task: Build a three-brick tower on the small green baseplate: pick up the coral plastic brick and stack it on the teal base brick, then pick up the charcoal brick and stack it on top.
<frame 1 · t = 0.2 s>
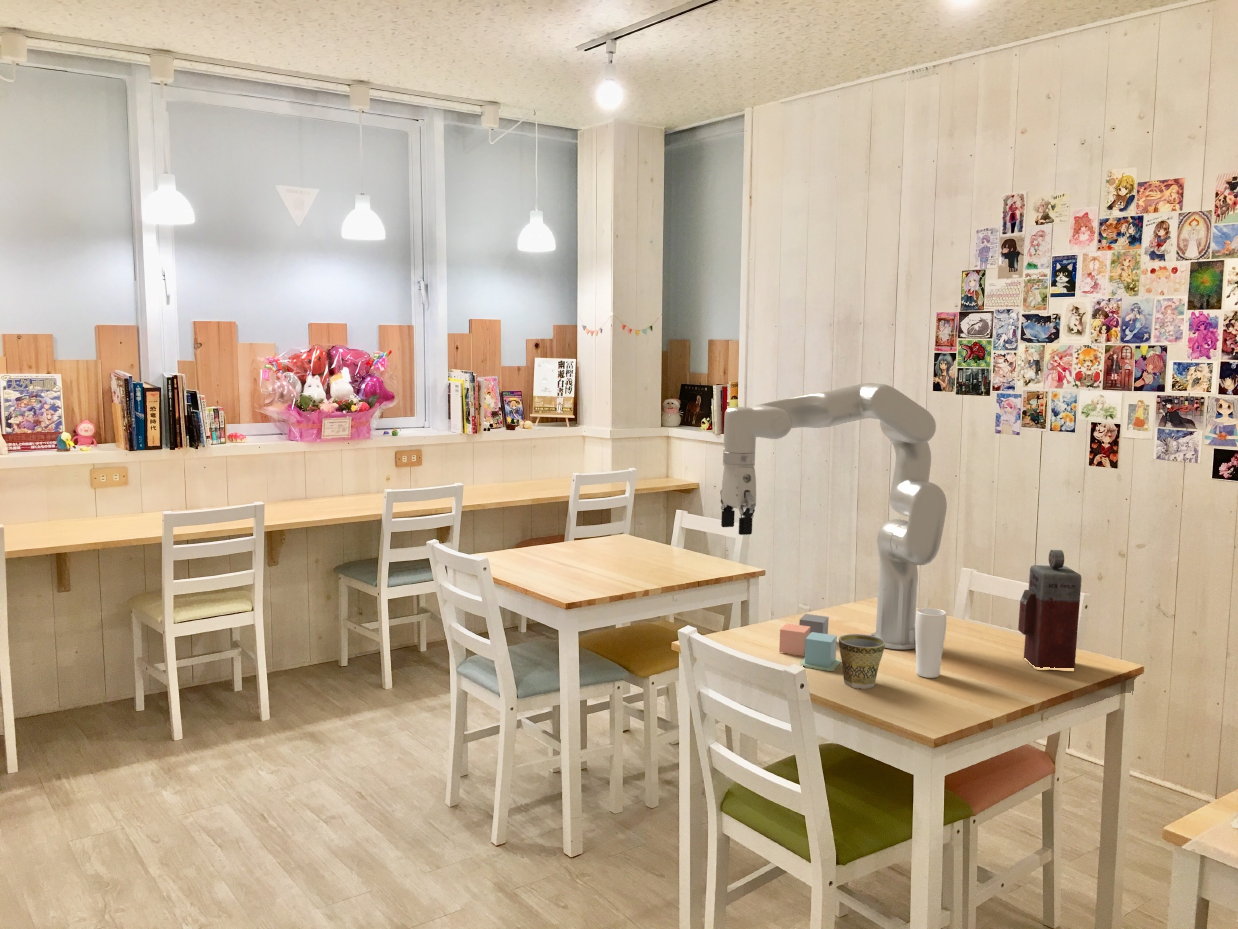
hand: (736, 530, 237), 30 cm above the table, tool pointing down, fingers open, 9 cm apart
green baseplate: (820, 664, 235), on the table
drinking glass: (927, 675, 228), on the table
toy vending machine: (1043, 665, 237), on the table
teal base brick: (820, 661, 234), point 1 cm above the table, touching green baseplate
ceramic cup: (860, 682, 223), on the table
charcoal brick: (813, 641, 253), on the table
coral brick: (794, 651, 244), on the table
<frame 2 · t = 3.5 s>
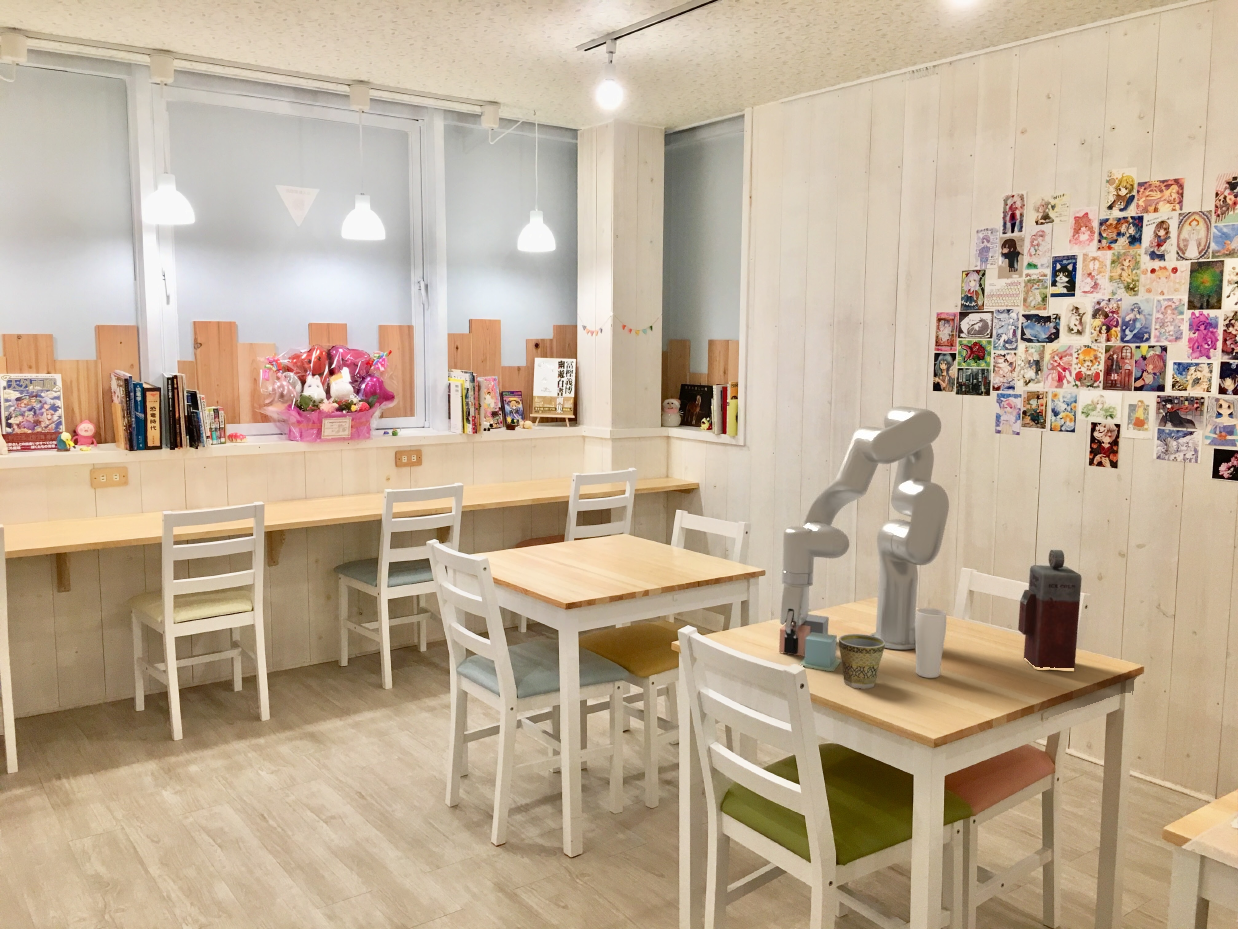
hand: (794, 648, 244), 1 cm above the table, tool pointing down, fingers closed on coral brick, 6 cm apart
coral brick: (794, 651, 244), on the table, touching gripper
everything else where it was.
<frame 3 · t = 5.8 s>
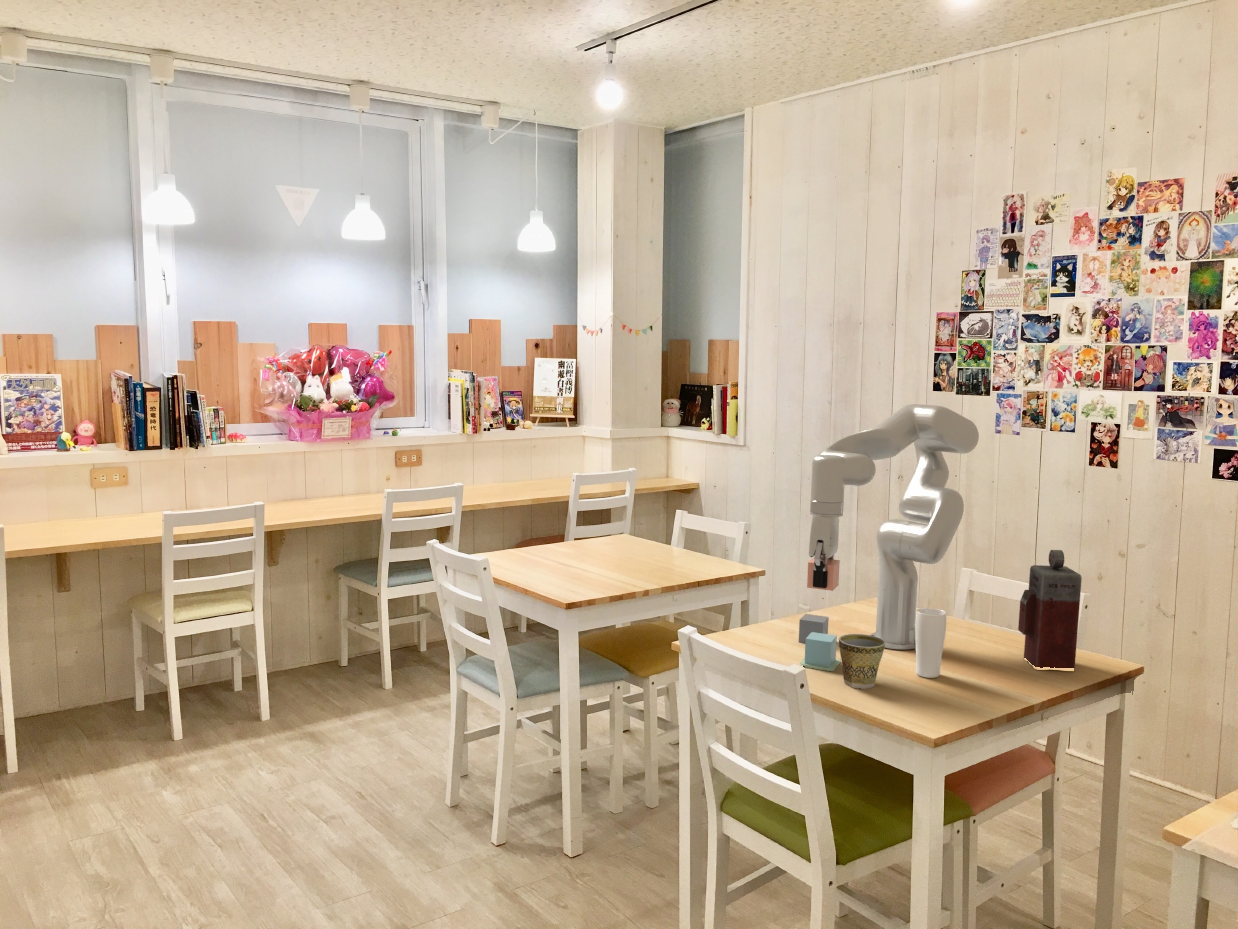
hand: (823, 583, 232), 19 cm above the table, tool pointing down, fingers closed on coral brick, 6 cm apart
coral brick: (822, 586, 232), point 19 cm above the table, touching gripper
everything else where it was.
when the fingers open (8 cm above the table, at t = 8.4 s): coral brick stays where it is, resting on teal base brick.
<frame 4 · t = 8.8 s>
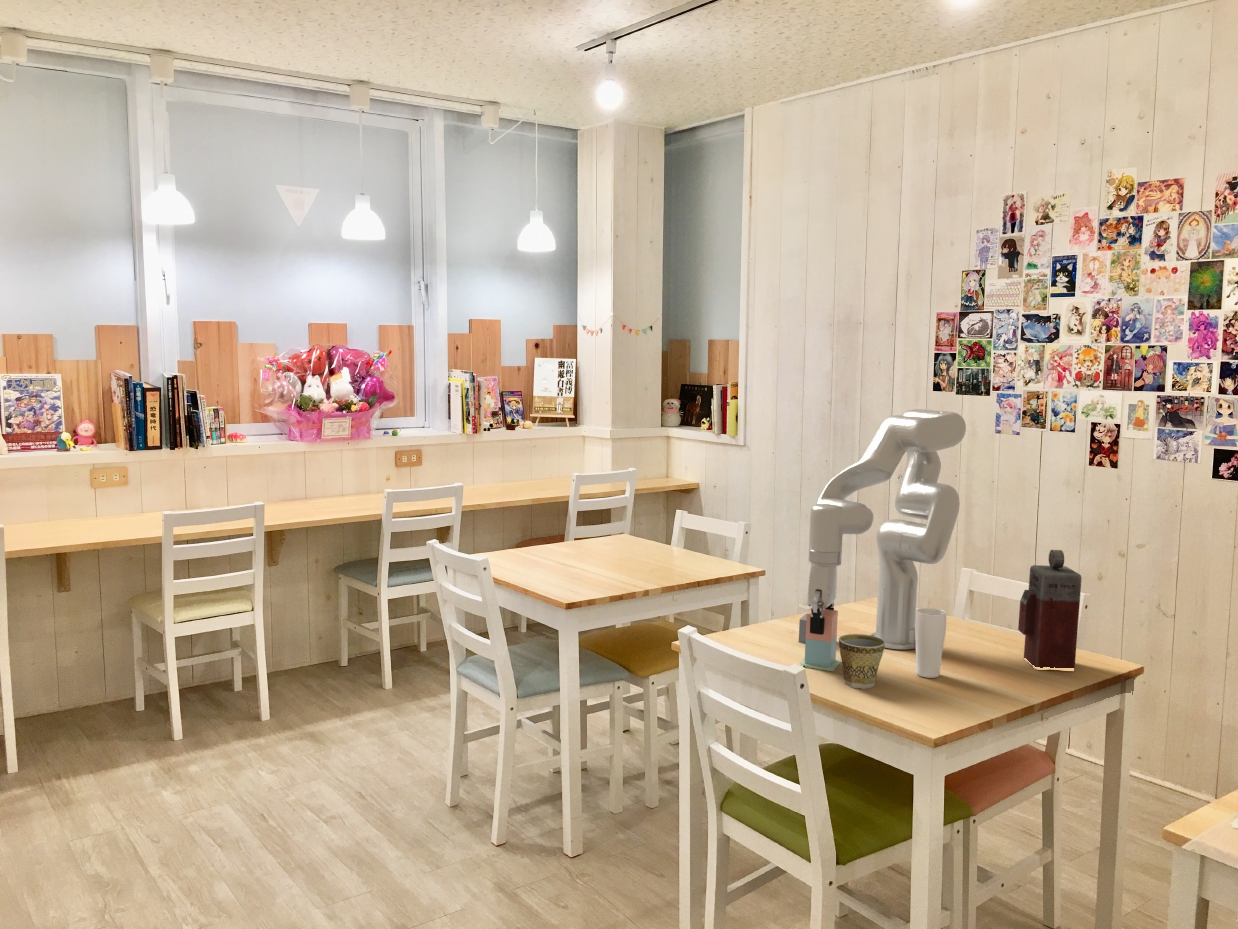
hand: (821, 628, 233), 9 cm above the table, tool pointing down, fingers open, 9 cm apart
teal base brick: (820, 661, 234), point 1 cm above the table, touching coral brick, green baseplate
coral brick: (821, 637, 234), point 7 cm above the table, touching teal base brick
everything else where it was.
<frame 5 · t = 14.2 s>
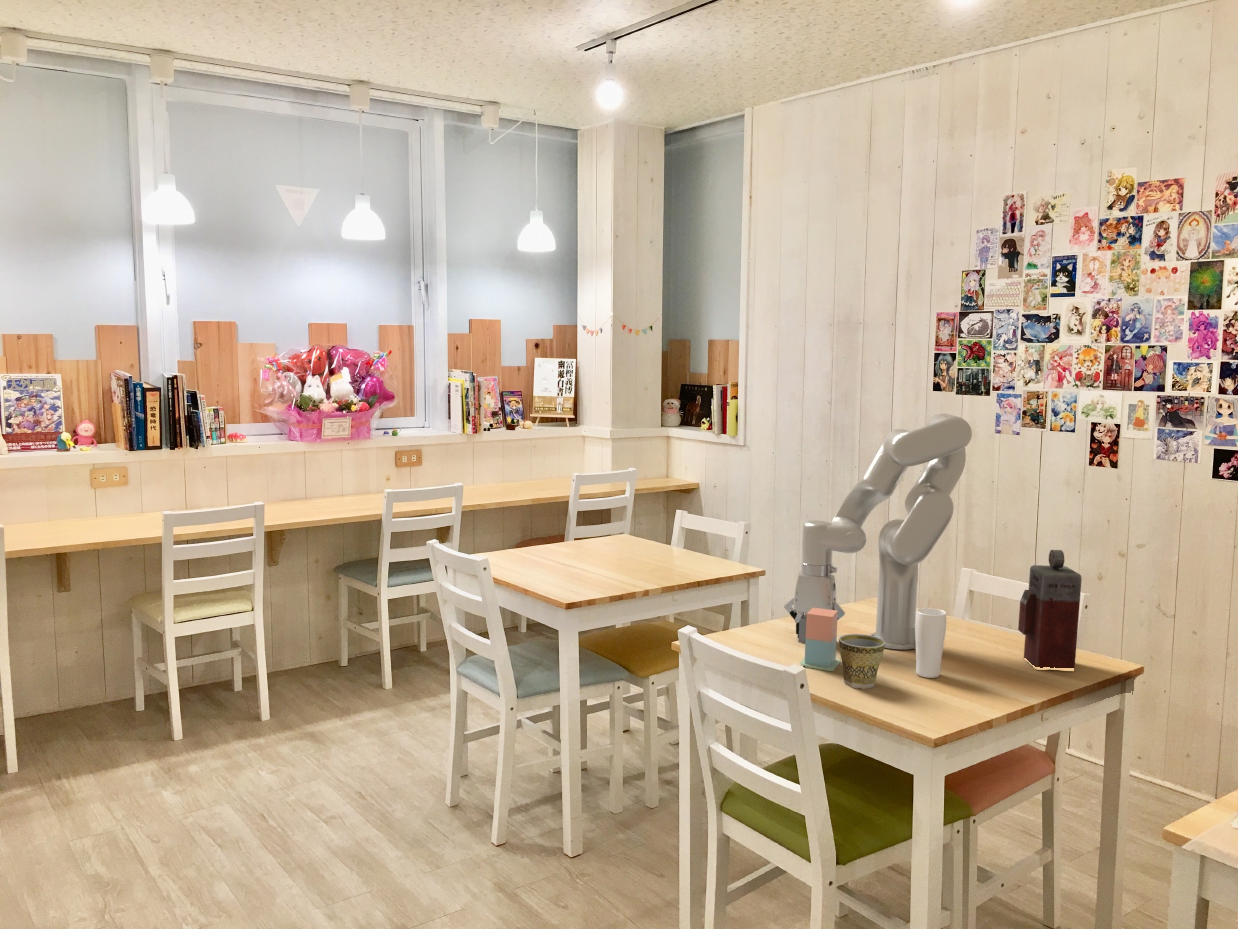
hand: (813, 638, 253), 1 cm above the table, tool pointing down, fingers closed on charcoal brick, 6 cm apart
charcoal brick: (813, 640, 253), on the table, touching gripper
everything else where it was.
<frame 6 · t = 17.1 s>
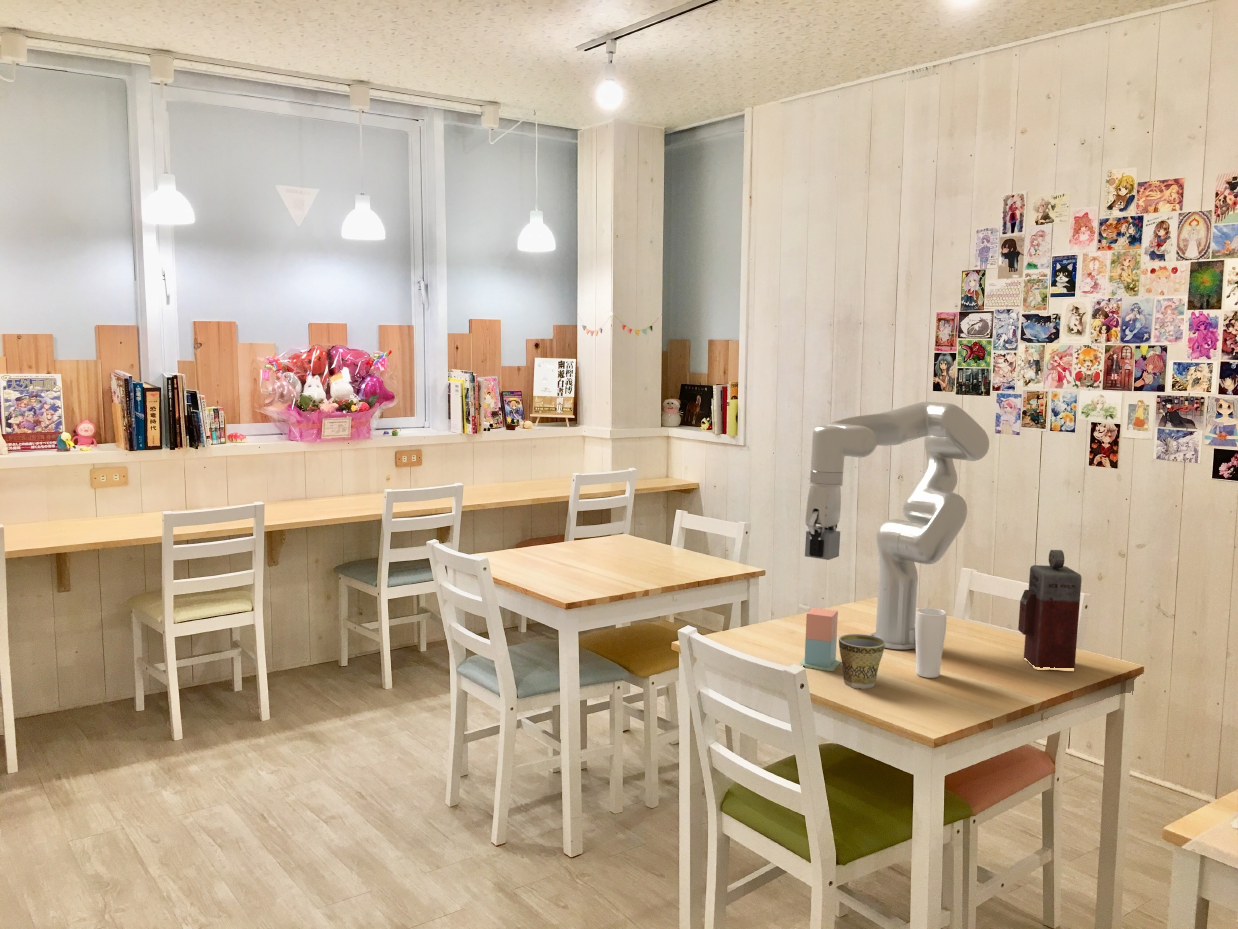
hand: (822, 553, 235), 26 cm above the table, tool pointing down, fingers closed on charcoal brick, 6 cm apart
charcoal brick: (821, 556, 235), point 25 cm above the table, touching gripper
everything else where it was.
when the fingers open (14 cm above the table, at t = 20.1 s): charcoal brick stays where it is, resting on coral brick.
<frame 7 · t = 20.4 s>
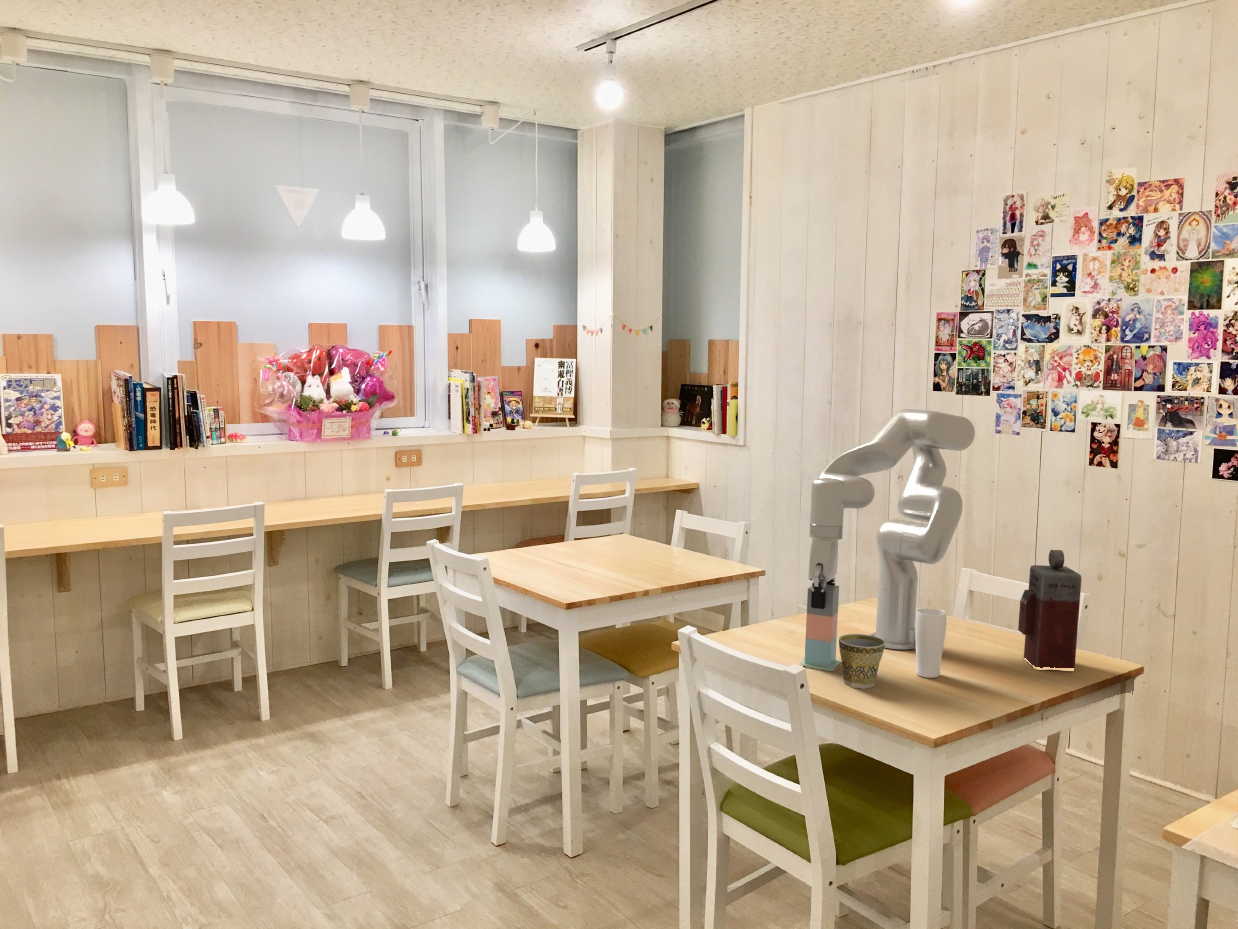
hand: (822, 603, 233), 15 cm above the table, tool pointing down, fingers open, 9 cm apart
charcoal brick: (822, 612, 233), point 13 cm above the table, touching coral brick
coral brick: (821, 637, 234), point 7 cm above the table, touching charcoal brick, teal base brick
everything else where it was.
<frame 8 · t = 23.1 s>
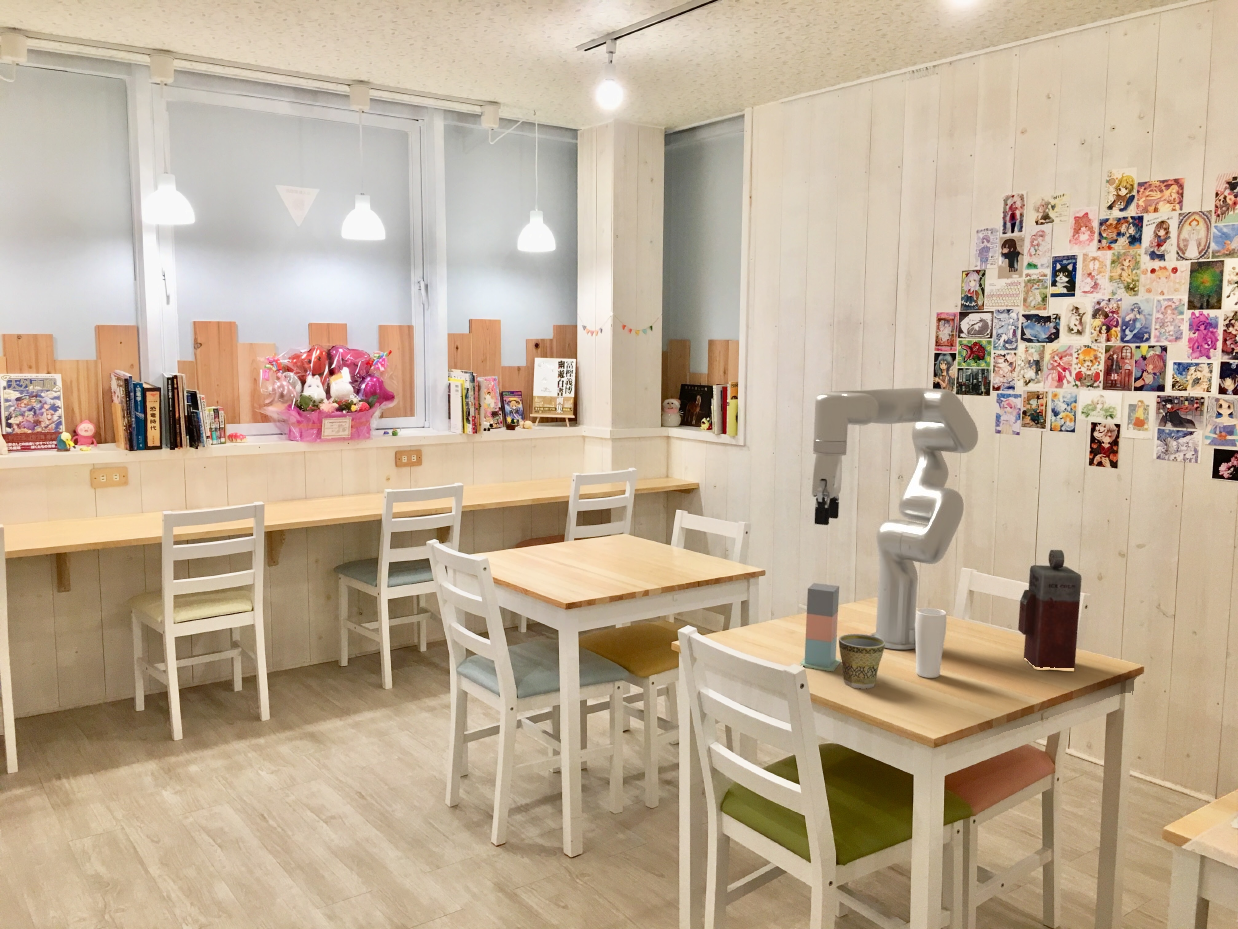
hand: (826, 521, 230), 34 cm above the table, tool pointing down, fingers open, 9 cm apart
nothing on the table moved.
at the end: coral brick 0.1 cm off-centre on the teal base brick, point 6.0 cm above the teal base brick's base; charcoal brick 0.0 cm off-centre on the teal base brick, point 12.0 cm above the teal base brick's base; charcoal brick tilted 0° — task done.
